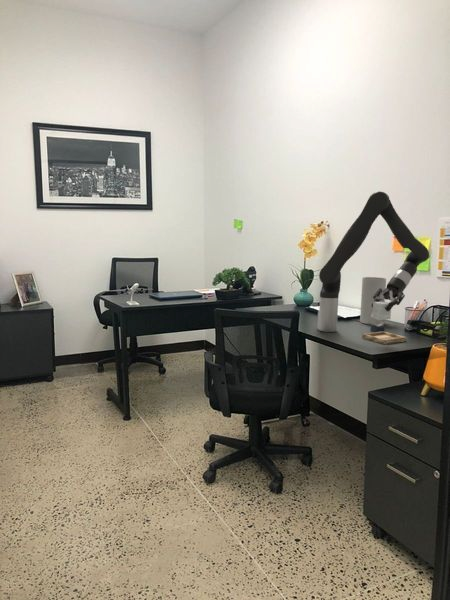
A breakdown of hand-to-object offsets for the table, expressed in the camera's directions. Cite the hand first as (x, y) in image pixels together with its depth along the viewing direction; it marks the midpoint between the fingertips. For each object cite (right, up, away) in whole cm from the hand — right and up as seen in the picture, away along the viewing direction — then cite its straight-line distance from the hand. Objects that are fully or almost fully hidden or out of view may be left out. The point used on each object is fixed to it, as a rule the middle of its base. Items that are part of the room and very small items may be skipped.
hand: (379, 308), depth 217 cm
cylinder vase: (+12, -9, +52) cm, 54 cm away
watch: (+8, -13, +29) cm, 32 cm away
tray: (+6, -15, +11) cm, 20 cm away
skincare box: (+1, -5, +1) cm, 5 cm away
